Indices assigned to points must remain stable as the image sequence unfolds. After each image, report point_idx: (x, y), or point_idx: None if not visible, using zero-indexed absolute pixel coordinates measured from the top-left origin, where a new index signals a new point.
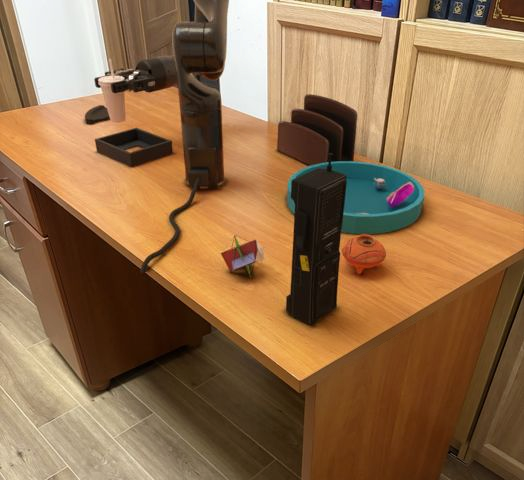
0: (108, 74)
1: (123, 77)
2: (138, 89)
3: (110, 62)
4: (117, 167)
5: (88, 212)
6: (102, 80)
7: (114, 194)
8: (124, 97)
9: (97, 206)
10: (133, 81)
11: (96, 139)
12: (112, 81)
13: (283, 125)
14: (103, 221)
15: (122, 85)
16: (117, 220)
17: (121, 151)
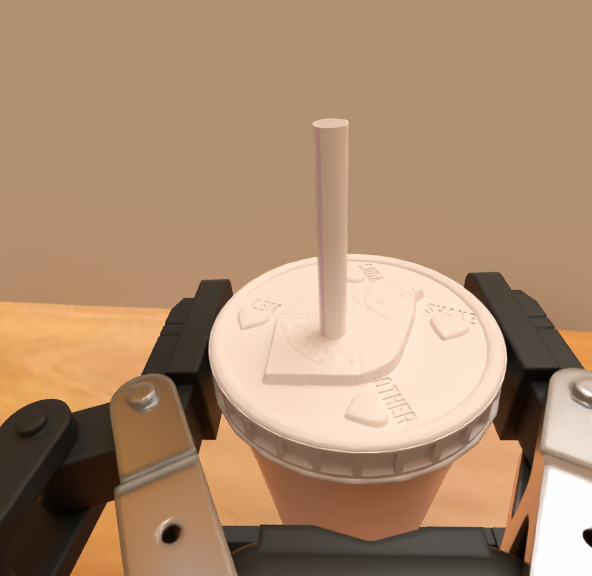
0: (575, 383)
1: (291, 429)
2: (40, 514)
3: (321, 166)
4: (251, 510)
5: (105, 313)
6: (348, 265)
7: (104, 384)
8: (284, 509)
9: (104, 333)
10: (32, 404)
11: (495, 531)
12: (260, 298)
13: None
14: (48, 313)
15: (159, 351)
16: (19, 329)
17: (256, 528)
